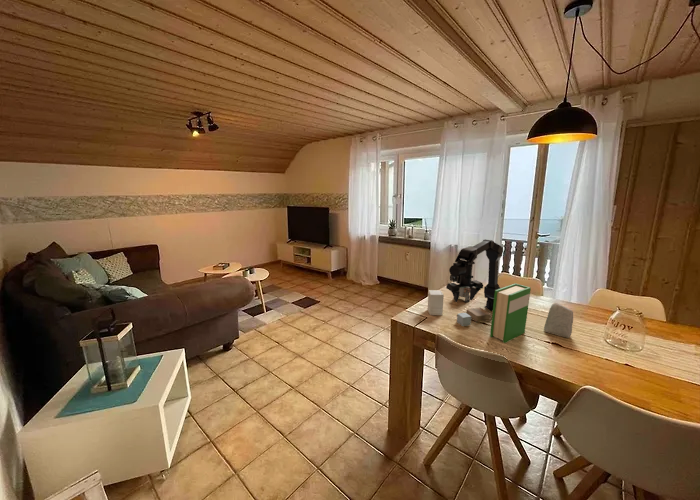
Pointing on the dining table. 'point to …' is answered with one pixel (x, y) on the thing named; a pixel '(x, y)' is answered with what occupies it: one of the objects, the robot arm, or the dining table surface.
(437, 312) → the supplement box
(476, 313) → the walnut block
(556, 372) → the dining table surface
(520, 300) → the hardback book
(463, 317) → the slate cube
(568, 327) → the decorative stone
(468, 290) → the figurine
